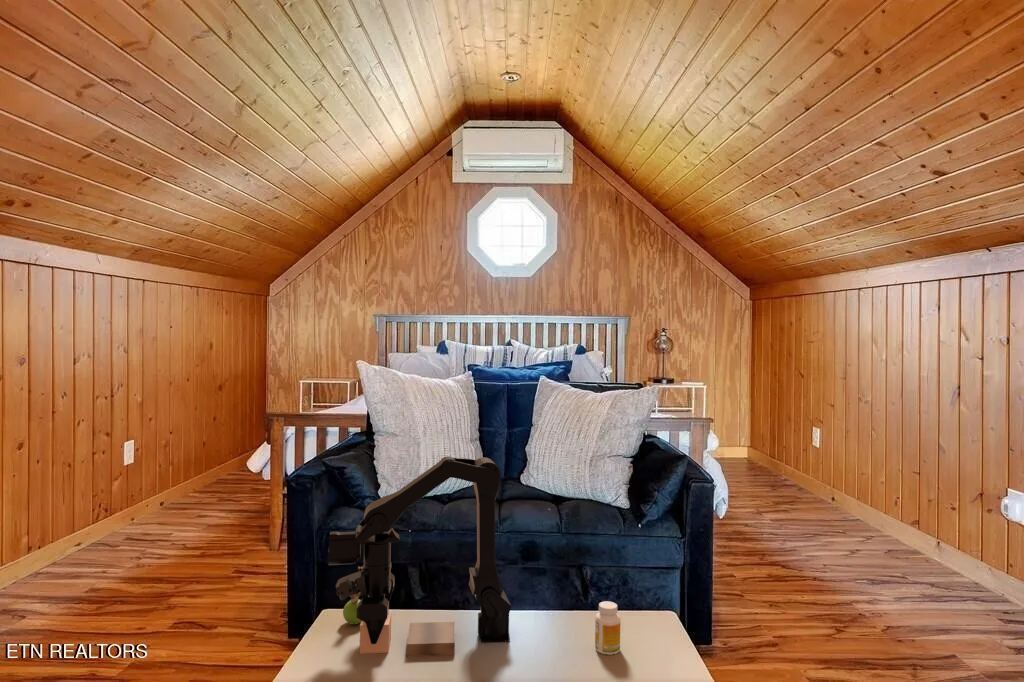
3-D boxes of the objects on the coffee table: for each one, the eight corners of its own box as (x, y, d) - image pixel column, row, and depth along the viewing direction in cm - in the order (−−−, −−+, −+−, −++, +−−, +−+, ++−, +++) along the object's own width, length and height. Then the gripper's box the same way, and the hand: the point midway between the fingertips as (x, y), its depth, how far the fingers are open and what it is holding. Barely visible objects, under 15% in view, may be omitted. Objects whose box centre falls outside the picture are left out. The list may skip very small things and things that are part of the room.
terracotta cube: (391, 639, 143) (391, 612, 143) (388, 652, 137) (388, 624, 137) (363, 640, 142) (363, 613, 142) (359, 653, 136) (360, 625, 136)
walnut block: (454, 634, 146) (454, 621, 146) (454, 656, 136) (454, 642, 136) (409, 636, 145) (409, 623, 145) (406, 658, 135) (407, 644, 135)
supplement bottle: (624, 649, 139) (625, 604, 139) (610, 658, 136) (611, 612, 135) (604, 641, 143) (605, 597, 143) (589, 649, 139) (590, 604, 139)
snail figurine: (371, 616, 154) (371, 566, 154) (362, 628, 147) (362, 576, 147) (349, 615, 154) (349, 565, 154) (339, 627, 148) (340, 575, 148)
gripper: (346, 548, 148) (345, 615, 148) (331, 579, 129) (330, 656, 129) (395, 547, 149) (394, 614, 149) (387, 577, 130) (386, 654, 130)
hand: (376, 633), depth 139 cm, fingers open, 9 cm apart
